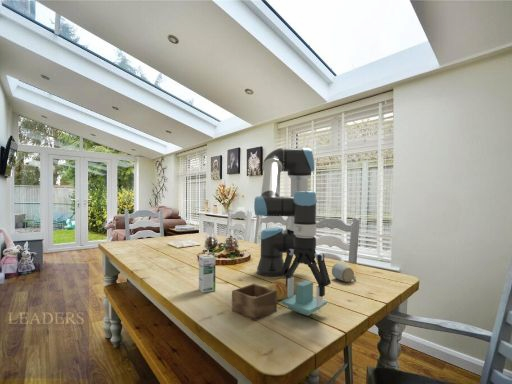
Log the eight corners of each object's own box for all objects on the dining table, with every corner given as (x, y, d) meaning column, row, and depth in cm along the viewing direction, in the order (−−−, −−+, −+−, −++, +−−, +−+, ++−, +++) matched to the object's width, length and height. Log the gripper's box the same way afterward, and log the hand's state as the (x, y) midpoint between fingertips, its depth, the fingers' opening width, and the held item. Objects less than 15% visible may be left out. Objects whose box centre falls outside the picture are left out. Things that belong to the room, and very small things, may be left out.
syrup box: (202, 293, 113) (202, 257, 113) (198, 288, 118) (198, 255, 118) (215, 291, 115) (215, 256, 116) (211, 287, 121) (211, 253, 121)
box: (232, 310, 96) (232, 290, 96) (253, 302, 104) (254, 283, 104) (254, 321, 88) (254, 299, 88) (276, 310, 96) (276, 290, 96)
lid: (281, 308, 93) (281, 283, 93) (300, 300, 101) (300, 276, 101) (309, 318, 86) (309, 291, 86) (326, 308, 94) (327, 283, 94)
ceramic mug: (343, 283, 127) (343, 267, 127) (331, 278, 134) (331, 263, 134) (360, 281, 131) (360, 265, 131) (347, 276, 138) (348, 261, 139)
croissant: (269, 313, 102) (276, 297, 99) (252, 294, 108) (259, 278, 106) (303, 298, 117) (310, 283, 114) (286, 282, 123) (293, 268, 120)
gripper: (271, 233, 99) (271, 294, 99) (330, 241, 83) (330, 314, 83) (284, 231, 105) (283, 289, 104) (342, 238, 89) (341, 307, 88)
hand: (304, 300), depth 94 cm, fingers closed on lid, 11 cm apart
